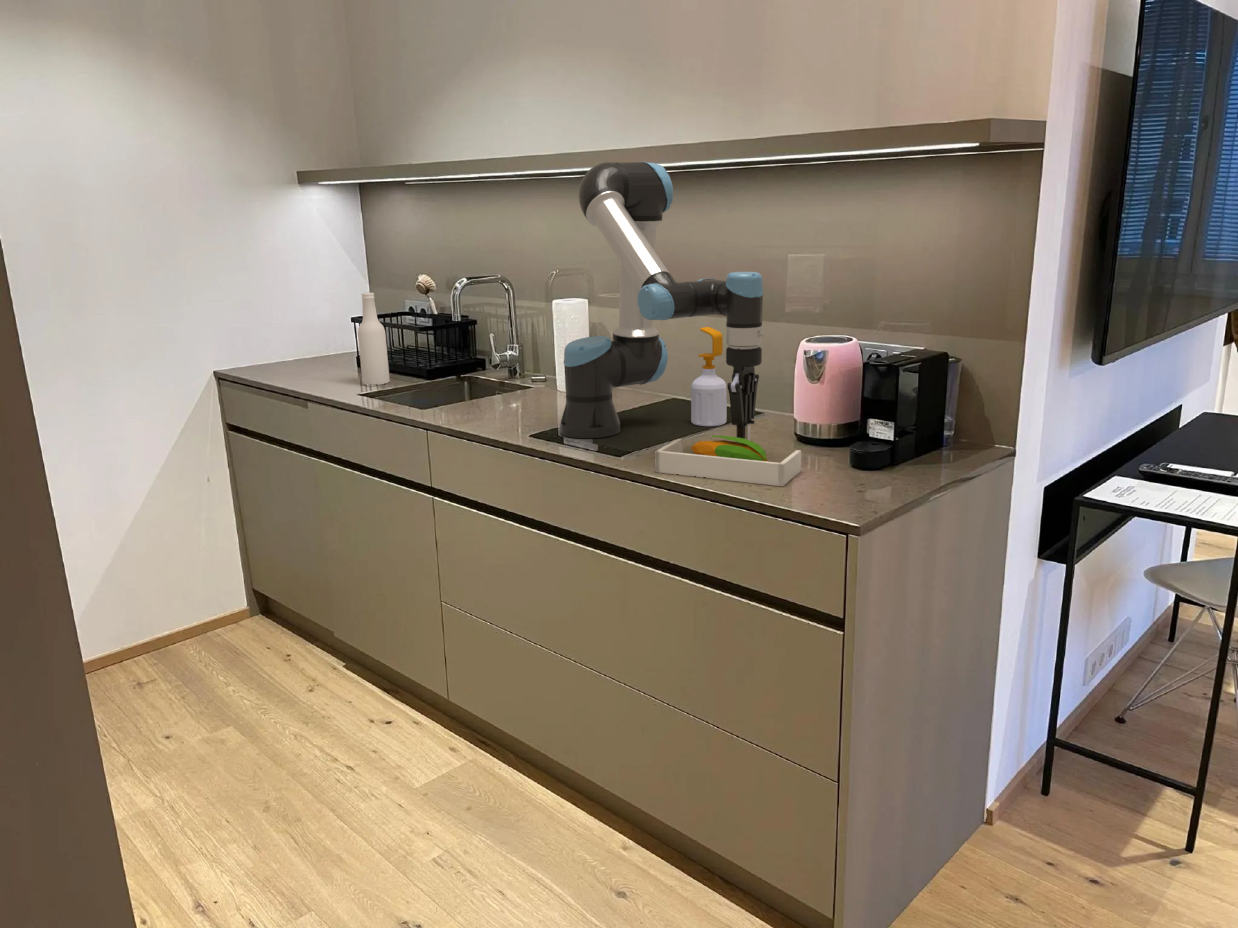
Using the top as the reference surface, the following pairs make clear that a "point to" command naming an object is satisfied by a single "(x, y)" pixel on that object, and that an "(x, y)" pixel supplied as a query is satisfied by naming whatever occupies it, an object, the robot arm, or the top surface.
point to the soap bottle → (709, 388)
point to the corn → (730, 449)
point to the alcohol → (372, 344)
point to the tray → (726, 466)
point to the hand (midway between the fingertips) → (742, 453)
